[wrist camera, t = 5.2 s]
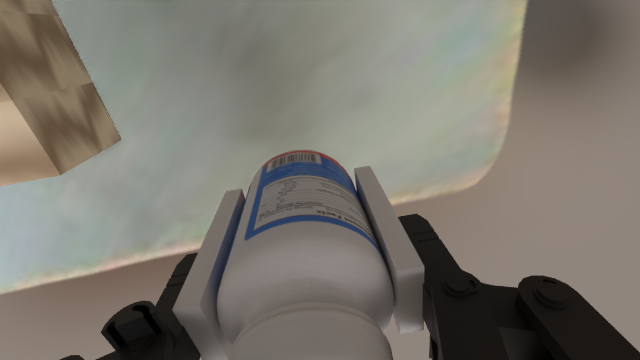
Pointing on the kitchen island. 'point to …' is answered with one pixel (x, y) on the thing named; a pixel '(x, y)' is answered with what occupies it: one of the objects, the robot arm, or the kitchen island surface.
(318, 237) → the pill bottle
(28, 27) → the socket block
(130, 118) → the kitchen island surface
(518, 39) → the kitchen island surface
